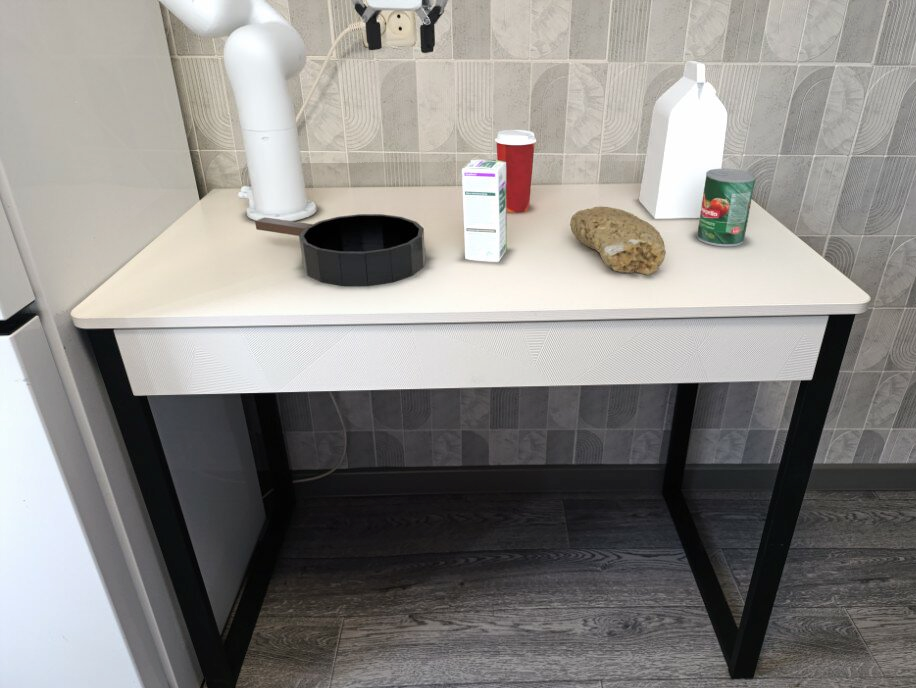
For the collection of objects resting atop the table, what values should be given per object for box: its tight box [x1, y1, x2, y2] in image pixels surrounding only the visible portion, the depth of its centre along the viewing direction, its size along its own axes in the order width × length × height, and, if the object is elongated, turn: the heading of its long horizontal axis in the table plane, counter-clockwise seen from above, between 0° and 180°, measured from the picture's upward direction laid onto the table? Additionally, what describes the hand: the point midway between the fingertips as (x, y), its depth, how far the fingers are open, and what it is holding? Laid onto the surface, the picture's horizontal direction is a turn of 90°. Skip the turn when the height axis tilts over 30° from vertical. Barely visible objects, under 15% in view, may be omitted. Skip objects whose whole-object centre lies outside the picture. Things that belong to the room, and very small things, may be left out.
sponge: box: [569, 206, 667, 276], centre depth 110 cm, size 13×8×20 cm
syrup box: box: [461, 159, 508, 263], centre depth 108 cm, size 6×6×14 cm
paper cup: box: [494, 129, 537, 214], centre depth 130 cm, size 8×8×14 cm
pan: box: [254, 213, 426, 287], centre depth 108 cm, size 28×18×5 cm, turn 68°
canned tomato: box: [696, 168, 757, 248], centre depth 116 cm, size 8×8×11 cm
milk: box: [638, 60, 728, 220], centre depth 128 cm, size 12×12×26 cm
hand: (401, 50), depth 113 cm, fingers open, 9 cm apart
